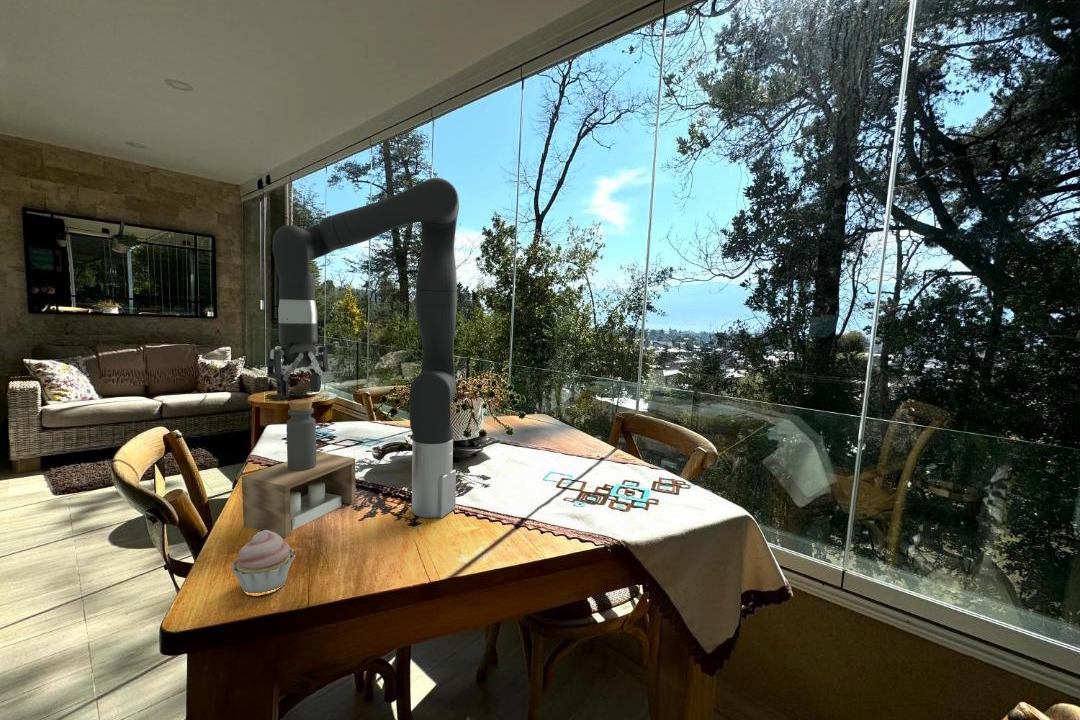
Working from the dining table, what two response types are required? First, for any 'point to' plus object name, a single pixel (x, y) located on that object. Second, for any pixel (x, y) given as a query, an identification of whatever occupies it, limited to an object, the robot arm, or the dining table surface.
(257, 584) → the cupcake
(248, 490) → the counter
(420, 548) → the dining table surface
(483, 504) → the dining table surface
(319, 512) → the shelved tray
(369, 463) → the dining table surface
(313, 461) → the bottle
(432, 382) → the robot arm
